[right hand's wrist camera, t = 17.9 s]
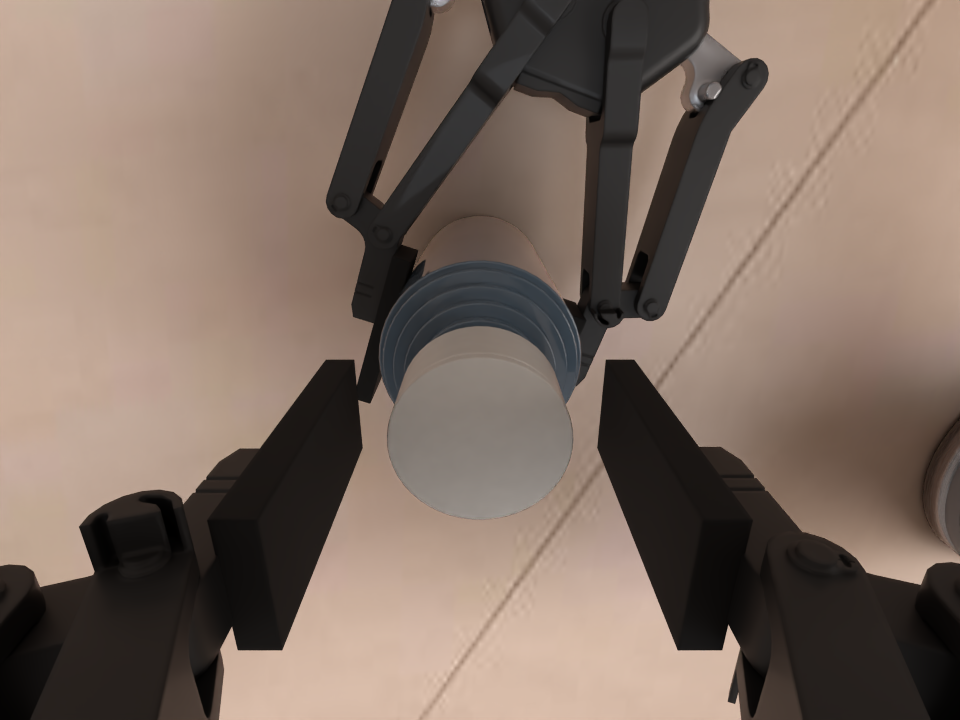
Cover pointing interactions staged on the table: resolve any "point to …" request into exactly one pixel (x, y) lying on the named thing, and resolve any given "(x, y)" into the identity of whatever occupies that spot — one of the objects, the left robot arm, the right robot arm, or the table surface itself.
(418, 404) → the cap
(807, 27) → the table surface
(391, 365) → the bottle
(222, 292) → the table surface
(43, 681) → the right robot arm
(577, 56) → the left robot arm
